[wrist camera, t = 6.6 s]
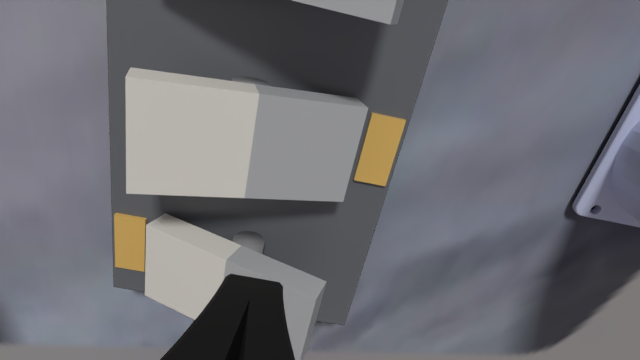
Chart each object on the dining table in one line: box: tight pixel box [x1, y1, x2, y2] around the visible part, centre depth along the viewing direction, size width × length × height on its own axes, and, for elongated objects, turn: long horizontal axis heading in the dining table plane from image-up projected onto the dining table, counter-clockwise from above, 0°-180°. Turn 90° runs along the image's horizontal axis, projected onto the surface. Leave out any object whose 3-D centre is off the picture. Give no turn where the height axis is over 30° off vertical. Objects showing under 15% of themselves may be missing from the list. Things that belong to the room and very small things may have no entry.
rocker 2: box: [145, 213, 327, 360], centre depth 18 cm, size 8×4×2 cm, turn 78°
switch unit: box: [106, 0, 448, 325], centre depth 17 cm, size 12×20×3 cm, turn 168°
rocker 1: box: [125, 67, 368, 202], centre depth 15 cm, size 8×4×3 cm, turn 78°
